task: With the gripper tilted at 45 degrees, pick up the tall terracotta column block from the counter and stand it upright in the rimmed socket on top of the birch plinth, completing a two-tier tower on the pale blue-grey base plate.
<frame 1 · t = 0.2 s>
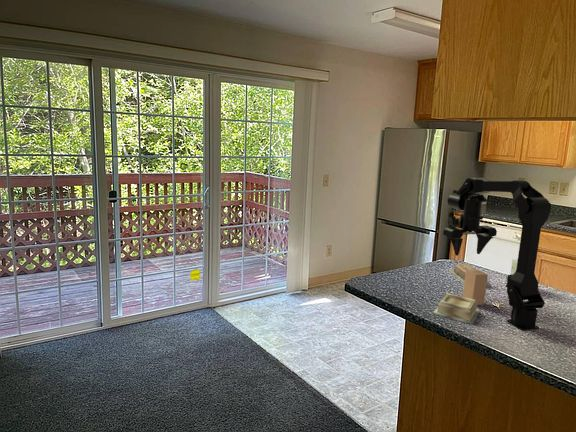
hand: (467, 254, 156), 15 cm above the table, tool pointing down, fingers open, 9 cm apart
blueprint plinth: (456, 312, 140), on the table
column block: (472, 302, 150), on the table
small box: (519, 288, 167), on the table
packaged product: (468, 280, 176), on the table
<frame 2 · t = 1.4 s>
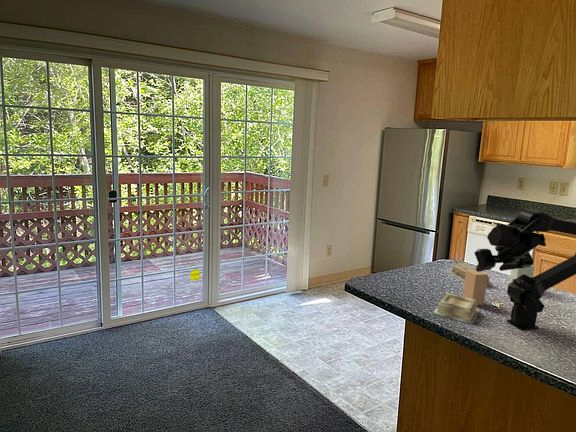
hand: (488, 269, 143), 14 cm above the table, tool tilted 45°, fingers open, 9 cm apart
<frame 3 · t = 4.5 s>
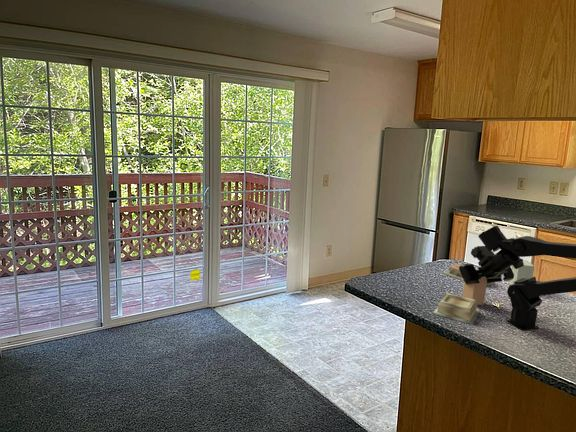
hand: (472, 282, 150), 7 cm above the table, tool tilted 45°, fingers closed on column block, 5 cm apart
column block: (472, 302, 150), on the table, touching gripper
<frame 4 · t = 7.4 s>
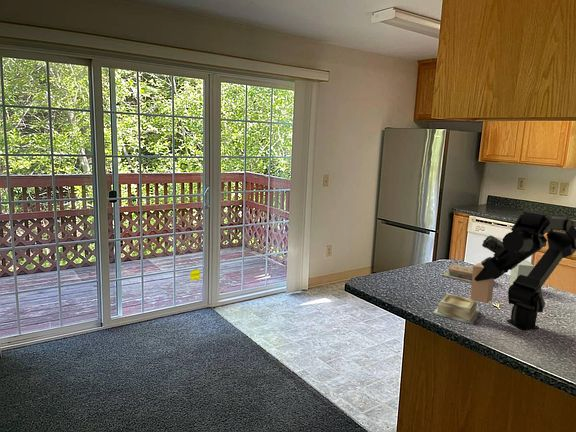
hand: (478, 278, 136), 13 cm above the table, tool tilted 40°, fingers closed on column block, 5 cm apart
column block: (481, 299, 136), point 6 cm above the table, touching gripper
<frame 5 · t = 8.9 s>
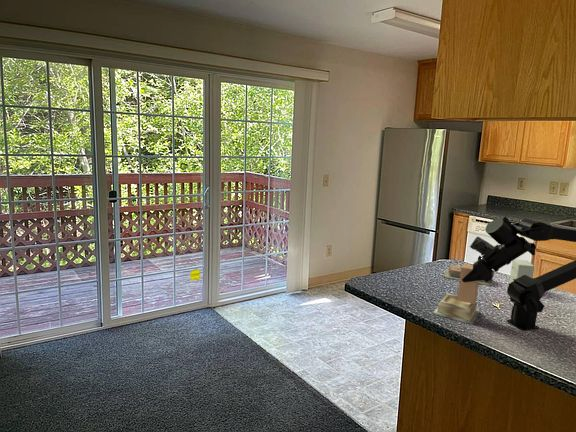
hand: (464, 278, 137), 12 cm above the table, tool tilted 45°, fingers closed on column block, 5 cm apart
column block: (467, 299, 138), point 5 cm above the table, touching gripper
when the fingers open (11 cm above the table, at t = 10.3 s): column block drops 1 cm, resting on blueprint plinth.
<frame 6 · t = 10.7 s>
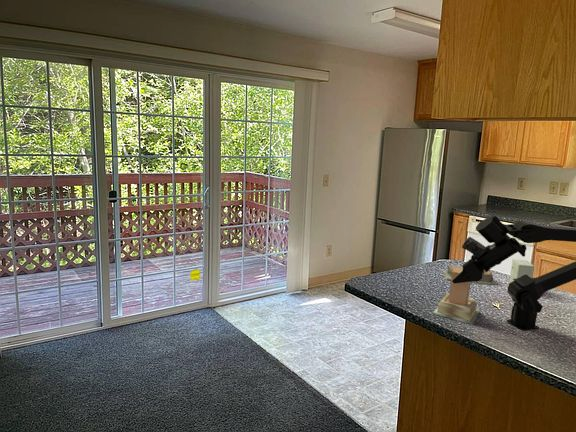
hand: (456, 278, 139), 12 cm above the table, tool tilted 45°, fingers open, 9 cm apart
column block: (458, 303, 140), point 3 cm above the table, touching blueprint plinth
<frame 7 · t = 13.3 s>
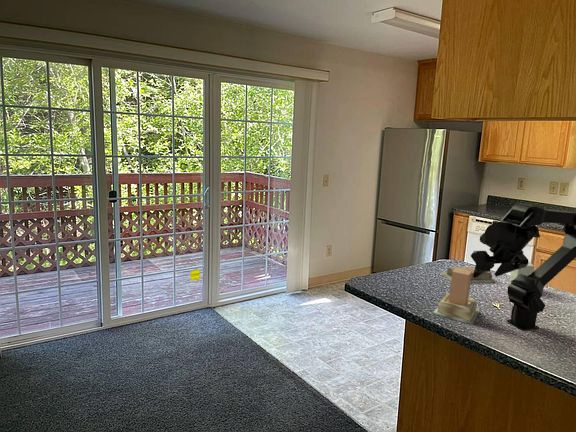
hand: (485, 276, 138), 13 cm above the table, tool tilted 30°, fingers open, 9 cm apart
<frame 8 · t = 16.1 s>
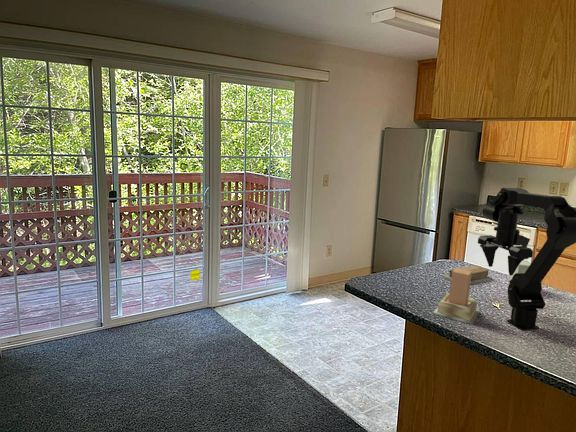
hand: (500, 270, 145), 13 cm above the table, tool pointing down, fingers open, 9 cm apart
at the end: column block 0.1 cm off-centre on the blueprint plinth, point 3.3 cm above the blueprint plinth's base; column block tilted 0°; the gripper is holding nothing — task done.
